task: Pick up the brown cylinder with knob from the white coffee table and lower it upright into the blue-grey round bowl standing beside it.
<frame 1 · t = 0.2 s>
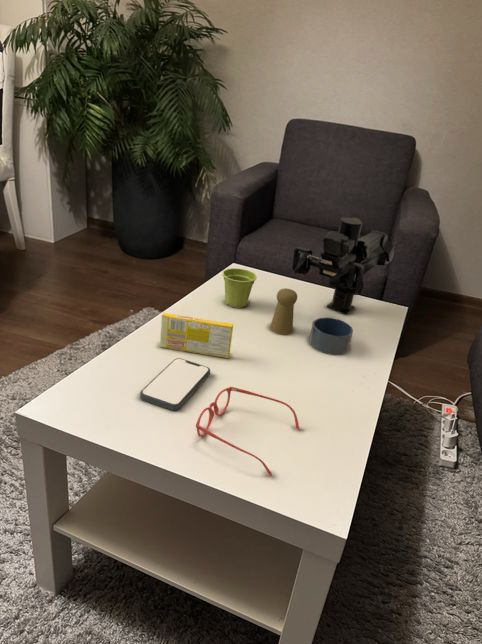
hand: (312, 277, 129), 17 cm above the table, tool horizontal, fingers open, 9 cm apart
smartphone: (176, 386, 111), on the table
candy box: (194, 351, 124), on the table
plant pot: (235, 303, 150), on the table
blue-grey round bowl: (328, 344, 137), on the table
red eyeglasses: (246, 437, 100), on the table
brown cylinder with knob: (281, 329, 140), on the table
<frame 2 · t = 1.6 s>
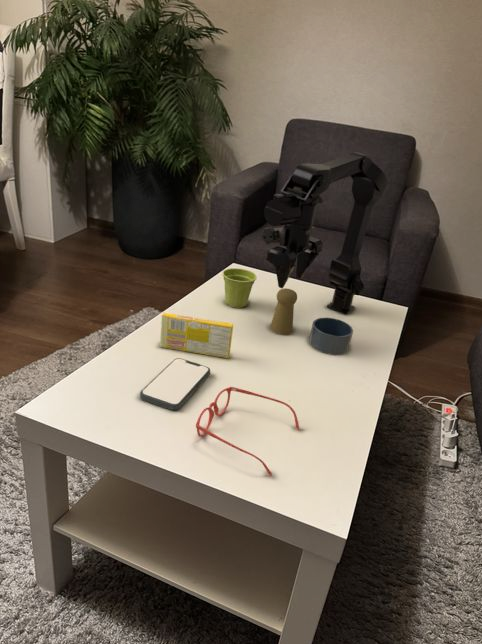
hand: (289, 282, 134), 13 cm above the table, tool pointing down, fingers open, 9 cm apart
nothing on the table moved.
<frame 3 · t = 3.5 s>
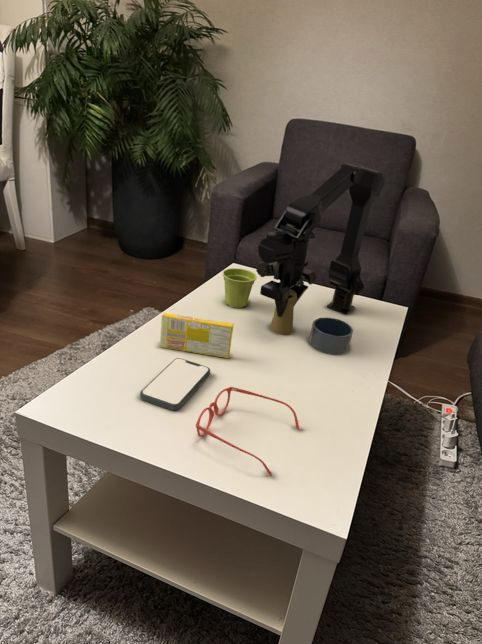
hand: (284, 313, 138), 5 cm above the table, tool pointing down, fingers closed on brown cylinder with knob, 4 cm apart
brown cylinder with knob: (281, 329, 140), on the table, touching gripper
everything else where it was.
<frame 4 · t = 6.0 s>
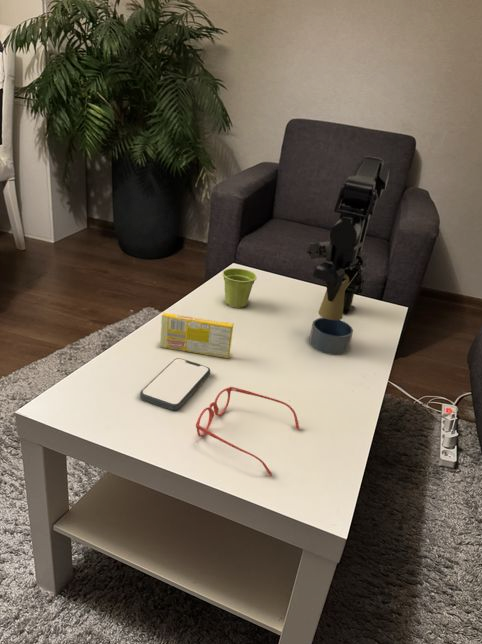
hand: (334, 298, 131), 13 cm above the table, tool pointing down, fingers closed on brown cylinder with knob, 4 cm apart
brown cylinder with knob: (330, 315, 133), point 8 cm above the table, touching gripper
everything else where it was.
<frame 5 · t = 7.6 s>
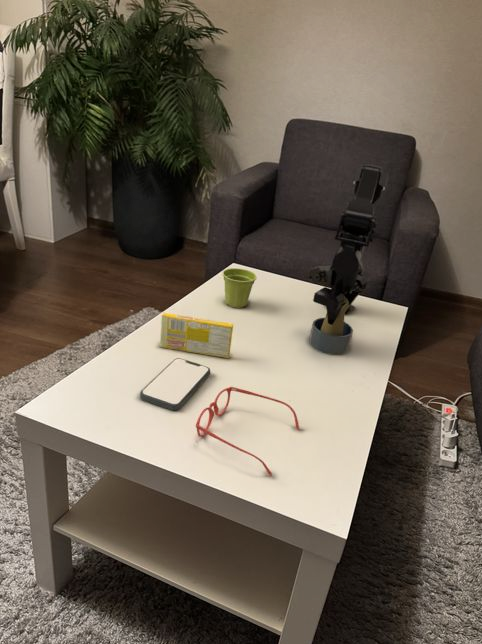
hand: (334, 320, 134), 7 cm above the table, tool pointing down, fingers closed on brown cylinder with knob, 4 cm apart
brown cylinder with knob: (330, 337, 136), point 2 cm above the table, touching gripper
everything else where it was.
when the fingers open (5 cm above the table, at t = 8.5 s): brown cylinder with knob stays where it is, resting on blue-grey round bowl.
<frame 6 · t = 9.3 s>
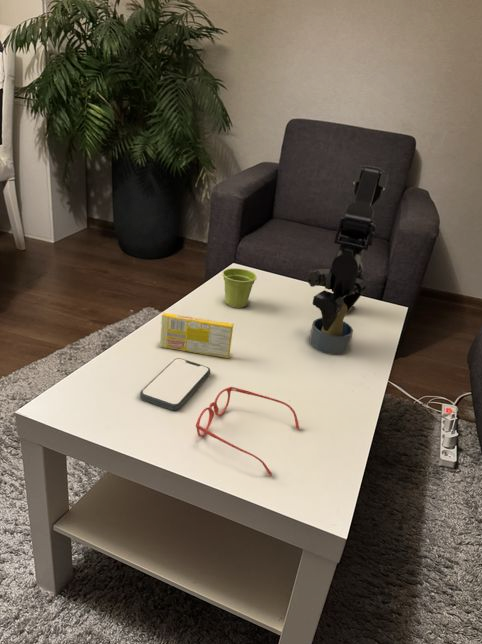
hand: (333, 324, 134), 6 cm above the table, tool pointing down, fingers open, 9 cm apart
brown cylinder with knob: (329, 342, 137), resting on blue-grey round bowl
everything else where it was.
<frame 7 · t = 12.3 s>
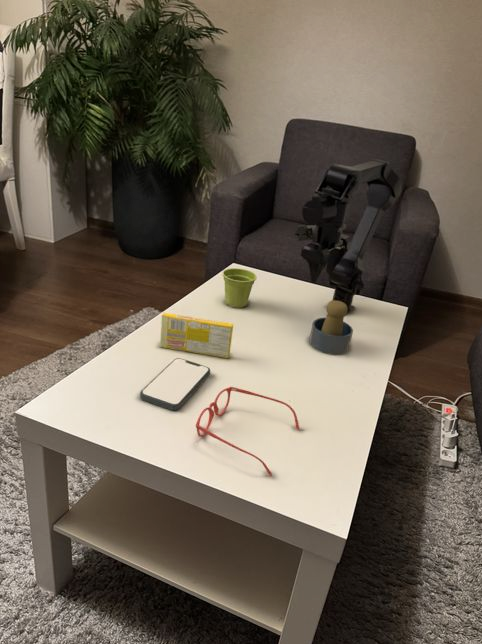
hand: (320, 278, 140), 13 cm above the table, tool pointing down, fingers open, 9 cm apart
nothing on the table moved.
at the end: brown cylinder with knob 0.1 cm off-centre in the blue-grey round bowl, point 0.4 cm above the blue-grey round bowl's base; brown cylinder with knob tilted 0°; the gripper is holding nothing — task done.
